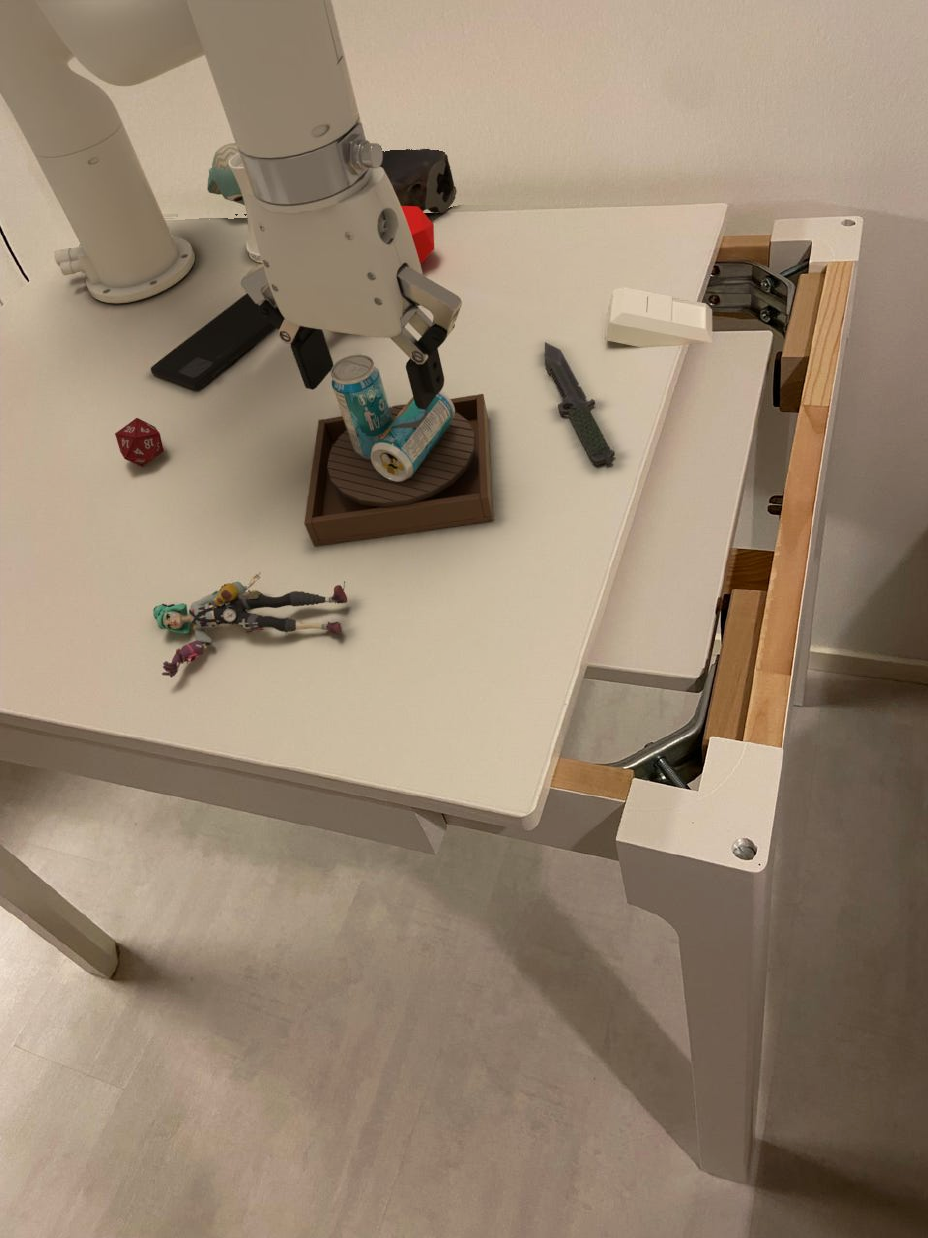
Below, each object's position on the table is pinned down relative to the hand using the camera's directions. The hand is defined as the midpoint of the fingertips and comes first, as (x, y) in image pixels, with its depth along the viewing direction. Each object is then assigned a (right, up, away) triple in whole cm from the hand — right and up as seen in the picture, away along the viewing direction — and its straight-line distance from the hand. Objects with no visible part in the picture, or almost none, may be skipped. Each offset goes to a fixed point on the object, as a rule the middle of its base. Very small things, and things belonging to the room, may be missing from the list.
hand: (374, 387), depth 70 cm
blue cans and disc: (+2, -4, +5) cm, 7 cm away
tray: (+2, -6, +6) cm, 9 cm away
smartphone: (-17, +11, +25) cm, 32 cm away
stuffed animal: (-18, +36, +49) cm, 63 cm away
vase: (-14, +25, +37) cm, 46 cm away
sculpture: (+3, +24, +30) cm, 39 cm away
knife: (+17, +2, +9) cm, 19 cm away
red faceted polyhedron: (+4, +23, +25) cm, 34 cm away
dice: (-22, -3, +15) cm, 26 cm away
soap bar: (+24, +8, +14) cm, 29 cm away
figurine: (-2, -17, -5) cm, 18 cm away
